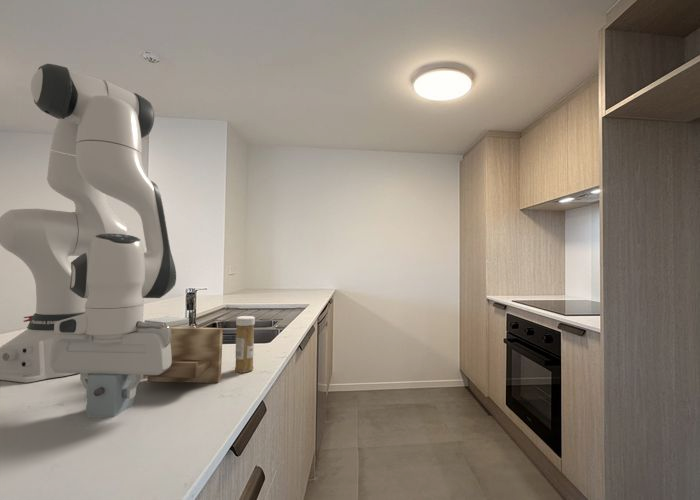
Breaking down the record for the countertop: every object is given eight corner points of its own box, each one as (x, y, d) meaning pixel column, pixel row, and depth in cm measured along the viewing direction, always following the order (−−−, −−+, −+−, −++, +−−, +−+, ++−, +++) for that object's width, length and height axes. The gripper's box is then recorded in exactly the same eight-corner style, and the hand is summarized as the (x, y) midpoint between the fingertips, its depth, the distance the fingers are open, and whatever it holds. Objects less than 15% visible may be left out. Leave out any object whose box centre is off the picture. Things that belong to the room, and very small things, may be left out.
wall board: (126, 393, 67) (129, 334, 67) (151, 378, 75) (153, 326, 76) (204, 395, 67) (206, 336, 67) (220, 380, 76) (222, 328, 76)
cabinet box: (81, 419, 56) (83, 377, 56) (107, 403, 62) (108, 366, 62) (110, 419, 56) (112, 378, 57) (133, 404, 62) (135, 367, 62)
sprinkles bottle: (255, 371, 82) (257, 317, 83) (237, 374, 80) (238, 318, 80) (250, 366, 86) (251, 314, 86) (232, 369, 83) (234, 316, 84)
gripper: (179, 319, 64) (177, 391, 63) (74, 317, 63) (71, 389, 63) (161, 325, 57) (157, 405, 57) (44, 323, 57) (40, 403, 57)
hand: (111, 397), depth 60 cm, fingers closed on cabinet box, 5 cm apart
